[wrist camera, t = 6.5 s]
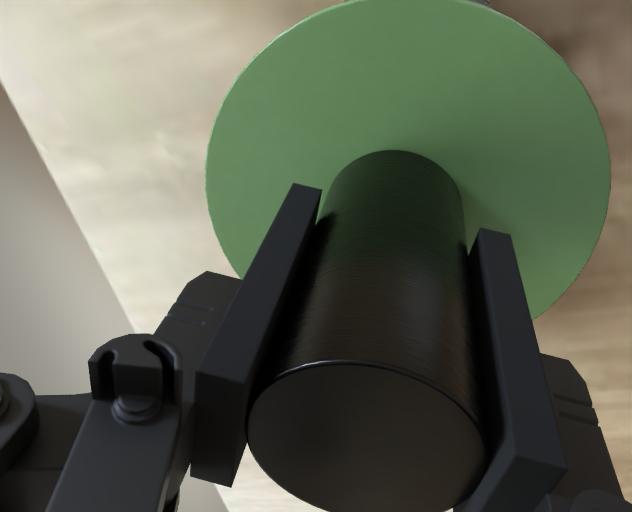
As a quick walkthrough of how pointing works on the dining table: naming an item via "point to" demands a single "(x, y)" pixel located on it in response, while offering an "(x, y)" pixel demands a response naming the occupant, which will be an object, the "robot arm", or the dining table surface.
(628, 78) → the dining table surface
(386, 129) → the lid
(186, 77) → the dining table surface
